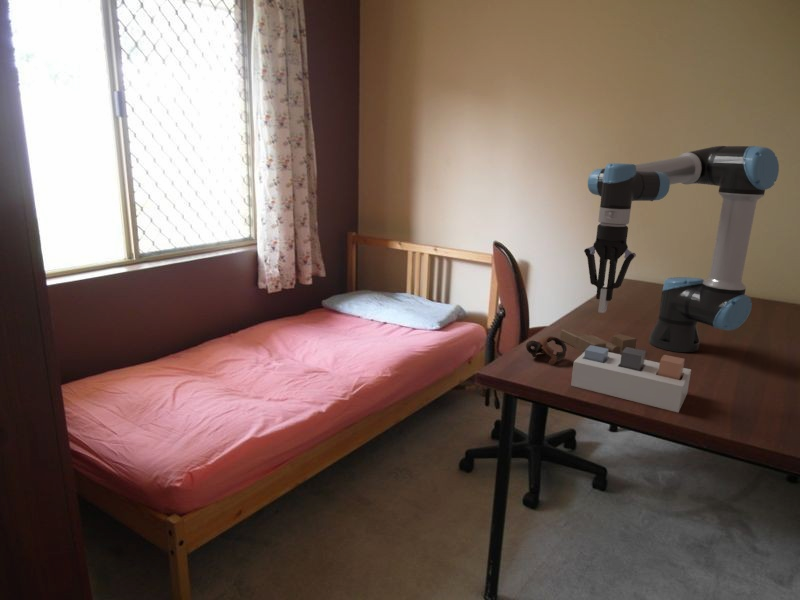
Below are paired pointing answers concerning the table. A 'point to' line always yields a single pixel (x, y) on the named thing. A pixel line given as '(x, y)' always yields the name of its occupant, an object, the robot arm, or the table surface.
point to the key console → (631, 382)
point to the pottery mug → (547, 349)
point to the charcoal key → (632, 359)
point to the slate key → (596, 354)
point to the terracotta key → (671, 367)
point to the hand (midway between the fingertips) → (602, 311)
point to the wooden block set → (596, 341)
